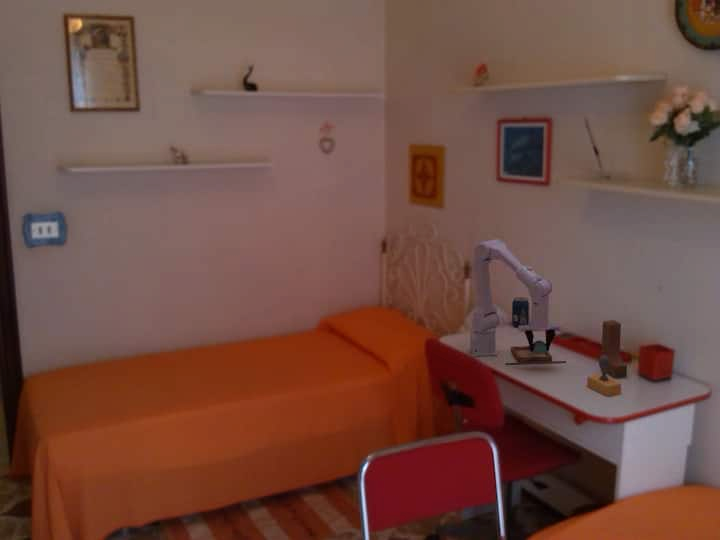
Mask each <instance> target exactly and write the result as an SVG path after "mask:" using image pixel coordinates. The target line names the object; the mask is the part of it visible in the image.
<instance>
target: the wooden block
mask: <svg viewBox="0 0 720 540" xmlns="http://www.w3.org/2000/svg"><path fill="white" fill-rule="evenodd" d="M621 329H622V324H621V322H619V321H617V320H614V319H610V320H604V321H602V331H601V333H602V334H601V356H603V355H606V356H608V357H609V359H610V364H609V367H608V369H607V372H606V375H609V376H611V378H614V379H619V378H621V379H622V378H627V375H628V374H627V371H628V366H627V364H626V363H625V362H624V361H623V358H622V357H621V356H622V355H621V351H620V350H621V334H622V333H621V331H622V330H621Z"/></svg>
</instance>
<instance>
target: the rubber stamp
mask: <svg viewBox="0 0 720 540" xmlns="http://www.w3.org/2000/svg"><path fill="white" fill-rule="evenodd" d="M598 359H599V360H598V365H599V369H600V371H601V373H597V374H592V375H587V378H586V379H587V381H586V386H587V387H588V388H590V389H591V390H594V391H595V392H598V393H600V394H601V395H604V396H605V397H612V396H617V395H621V394H622V392H621V391H622V383H621V382H620V381H617V380H615V379H613V378H612V377H609V376H607V373H606V372H607V369H608V367H609V364H610V359H609V357H608V356H606V355H603V356H602V355H601V356H599V358H598Z"/></svg>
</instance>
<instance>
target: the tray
mask: <svg viewBox="0 0 720 540" xmlns="http://www.w3.org/2000/svg"><path fill="white" fill-rule="evenodd" d="M510 352H511V354H512V357H514V359H515V362H516V363H523V362H551V361H553V356H552V354H551V353H550V352H549V351H547V350H546V352H545V353H544V354H541V355H538V354H536V353H534V352H531V351H530V347H529V345H522V346H520V345H519V346H515V345H514V346H510Z"/></svg>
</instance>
